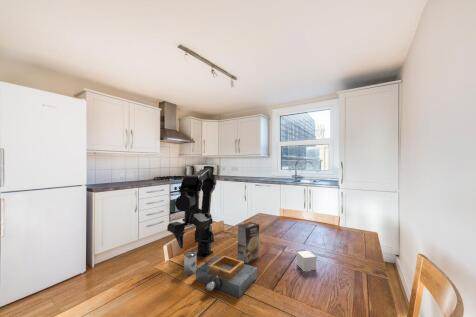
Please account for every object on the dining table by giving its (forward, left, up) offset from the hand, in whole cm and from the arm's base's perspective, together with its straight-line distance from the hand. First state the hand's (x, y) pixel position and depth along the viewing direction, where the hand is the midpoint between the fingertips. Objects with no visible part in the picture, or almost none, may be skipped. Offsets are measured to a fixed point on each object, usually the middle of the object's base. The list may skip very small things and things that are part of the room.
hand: (190, 244), depth 81 cm
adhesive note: (-32, +38, -13) cm, 52 cm away
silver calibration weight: (-2, -3, -13) cm, 13 cm away
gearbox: (-4, +13, -13) cm, 19 cm away
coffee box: (-26, +12, -13) cm, 32 cm away
